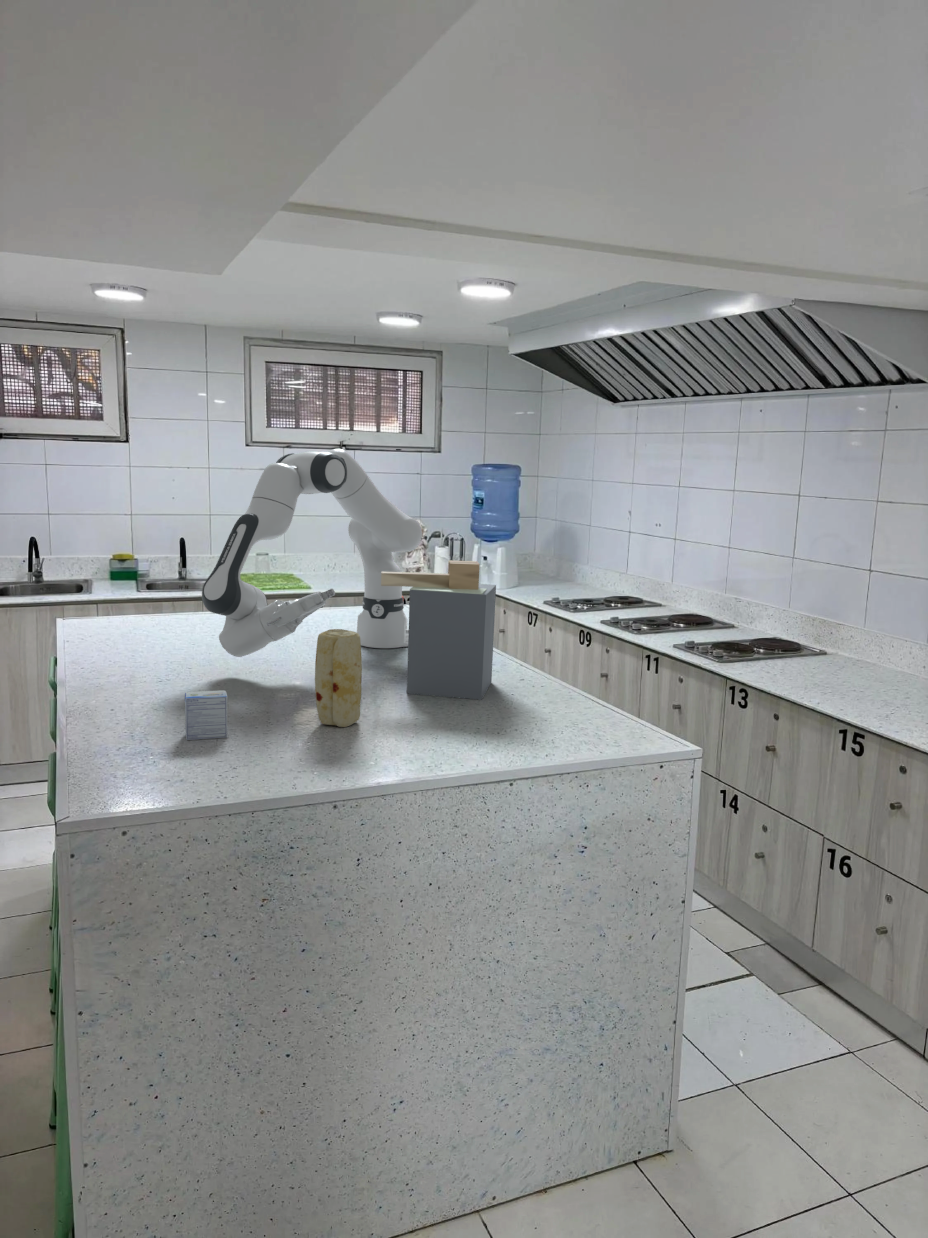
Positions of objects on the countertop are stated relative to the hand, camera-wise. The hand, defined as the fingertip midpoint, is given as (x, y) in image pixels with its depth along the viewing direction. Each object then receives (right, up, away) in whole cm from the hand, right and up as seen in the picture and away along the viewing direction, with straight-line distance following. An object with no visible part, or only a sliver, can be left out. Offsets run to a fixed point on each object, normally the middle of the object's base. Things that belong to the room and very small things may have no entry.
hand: (327, 594), depth 213 cm
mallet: (+25, +2, -3) cm, 25 cm away
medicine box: (-17, -29, -40) cm, 53 cm away
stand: (+30, -23, +3) cm, 38 cm away
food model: (+7, -28, -29) cm, 41 cm away
